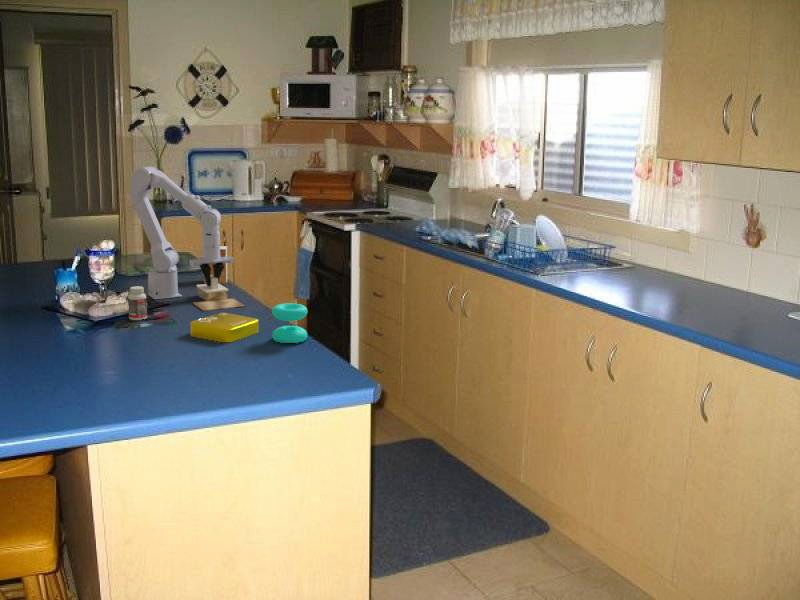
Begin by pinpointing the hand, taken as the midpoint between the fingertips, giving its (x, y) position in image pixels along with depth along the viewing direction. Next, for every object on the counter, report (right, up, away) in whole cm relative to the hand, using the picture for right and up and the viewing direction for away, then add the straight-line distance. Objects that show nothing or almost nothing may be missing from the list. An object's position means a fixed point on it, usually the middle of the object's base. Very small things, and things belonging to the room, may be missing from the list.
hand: (212, 285), depth 286 cm
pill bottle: (-17, -11, -27) cm, 33 cm away
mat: (+4, -7, -8) cm, 11 cm away
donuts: (+32, -17, -45) cm, 58 cm away
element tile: (+13, -15, -40) cm, 45 cm away
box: (0, -4, +1) cm, 4 cm away
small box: (-4, +1, +25) cm, 25 cm away
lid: (0, -1, 0) cm, 1 cm away
